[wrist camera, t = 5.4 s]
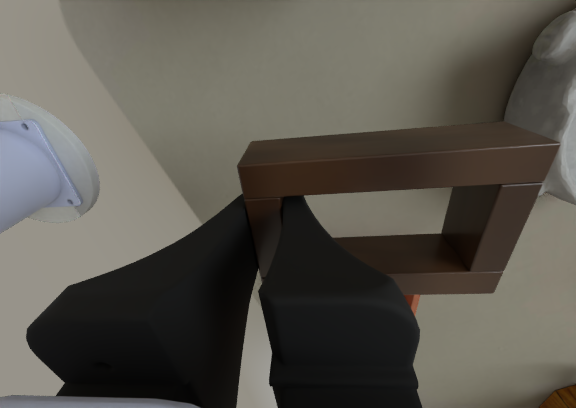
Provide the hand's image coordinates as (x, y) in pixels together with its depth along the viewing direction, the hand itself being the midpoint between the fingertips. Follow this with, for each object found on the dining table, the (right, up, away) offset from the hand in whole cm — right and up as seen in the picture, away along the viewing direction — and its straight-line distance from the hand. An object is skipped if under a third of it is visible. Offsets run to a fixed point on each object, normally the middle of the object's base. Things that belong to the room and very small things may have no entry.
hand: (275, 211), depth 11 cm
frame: (+4, 0, 0) cm, 4 cm away
